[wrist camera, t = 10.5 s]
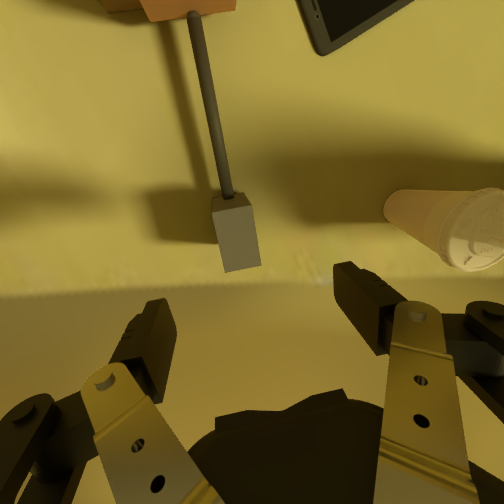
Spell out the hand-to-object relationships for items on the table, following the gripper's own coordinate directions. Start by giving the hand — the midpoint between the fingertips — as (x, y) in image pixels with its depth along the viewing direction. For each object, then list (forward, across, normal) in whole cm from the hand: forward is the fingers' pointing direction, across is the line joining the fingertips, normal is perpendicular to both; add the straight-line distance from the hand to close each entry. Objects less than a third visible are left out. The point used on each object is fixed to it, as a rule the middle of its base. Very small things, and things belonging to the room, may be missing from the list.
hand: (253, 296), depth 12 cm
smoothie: (+15, -18, +2) cm, 23 cm away
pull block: (+14, 0, -10) cm, 17 cm away
